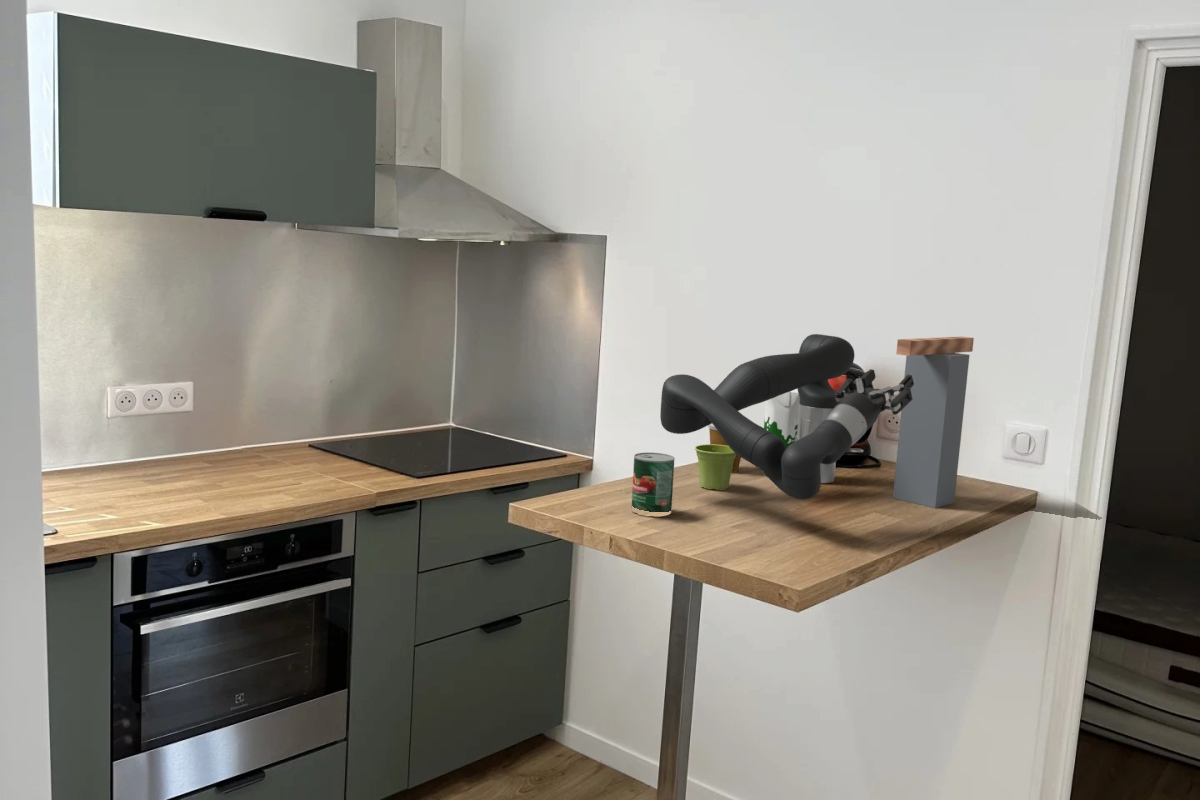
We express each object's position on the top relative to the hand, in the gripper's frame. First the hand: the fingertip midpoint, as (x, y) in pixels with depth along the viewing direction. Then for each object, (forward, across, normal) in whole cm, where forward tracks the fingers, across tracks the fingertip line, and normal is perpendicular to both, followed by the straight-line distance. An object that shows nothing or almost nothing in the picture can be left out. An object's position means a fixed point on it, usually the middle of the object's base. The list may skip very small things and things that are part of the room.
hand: (891, 375), depth 207 cm
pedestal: (+1, 0, +33) cm, 33 cm away
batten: (+16, 0, +5) cm, 17 cm away
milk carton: (+6, +43, +36) cm, 57 cm away
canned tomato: (-49, +26, +4) cm, 56 cm away
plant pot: (-26, +32, +18) cm, 45 cm away
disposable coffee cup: (-12, +43, +26) cm, 52 cm away
